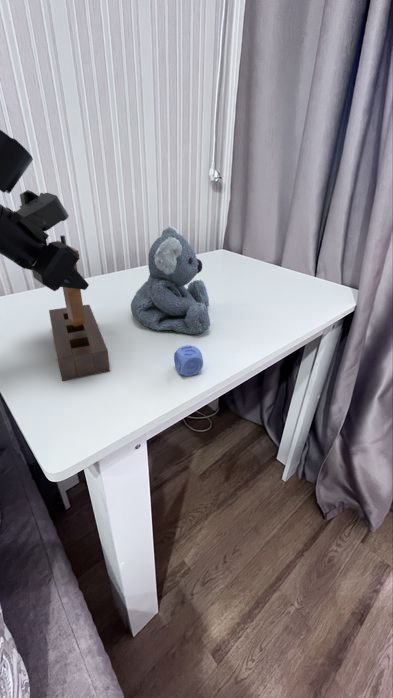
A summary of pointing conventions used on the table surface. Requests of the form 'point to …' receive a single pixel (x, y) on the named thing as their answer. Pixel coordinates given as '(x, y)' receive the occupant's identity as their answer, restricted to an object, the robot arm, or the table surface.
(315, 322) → the table surface
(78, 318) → the brown beam with peg
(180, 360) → the decorative dice
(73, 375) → the rack
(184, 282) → the koala plush
